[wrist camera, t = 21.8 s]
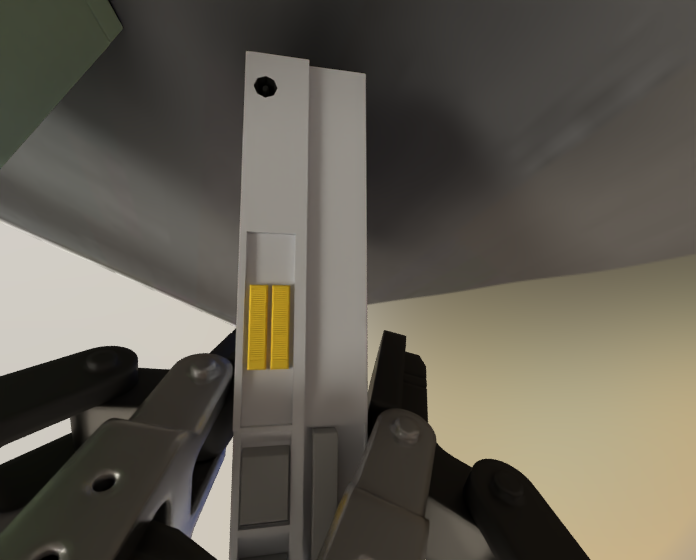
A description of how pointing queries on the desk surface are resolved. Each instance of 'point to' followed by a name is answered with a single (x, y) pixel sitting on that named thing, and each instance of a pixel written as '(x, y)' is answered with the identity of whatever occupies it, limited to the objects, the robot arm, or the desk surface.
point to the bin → (45, 58)
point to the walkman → (299, 306)
